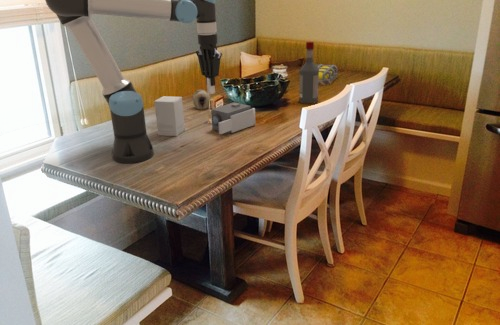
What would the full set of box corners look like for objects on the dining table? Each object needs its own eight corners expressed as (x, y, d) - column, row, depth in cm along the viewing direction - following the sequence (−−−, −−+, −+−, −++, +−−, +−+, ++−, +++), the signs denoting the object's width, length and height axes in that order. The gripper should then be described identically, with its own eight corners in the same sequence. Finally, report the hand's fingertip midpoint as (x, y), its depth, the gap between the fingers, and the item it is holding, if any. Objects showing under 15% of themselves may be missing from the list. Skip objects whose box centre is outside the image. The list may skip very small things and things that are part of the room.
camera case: (226, 134, 187) (225, 112, 184) (210, 129, 194) (208, 107, 190) (251, 125, 198) (250, 104, 194) (234, 121, 204) (234, 100, 200)
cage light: (339, 63, 283) (328, 73, 258) (339, 76, 286) (328, 87, 261) (317, 62, 288) (304, 72, 263) (317, 75, 292) (304, 85, 266)
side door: (221, 137, 183) (220, 120, 180) (218, 136, 184) (217, 119, 181) (255, 124, 198) (255, 108, 195) (253, 123, 198) (253, 107, 196)
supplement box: (185, 129, 195) (182, 96, 189) (177, 136, 187) (173, 101, 181) (166, 128, 197) (163, 95, 191) (157, 135, 189) (153, 100, 183)
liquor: (318, 99, 235) (320, 40, 223) (316, 104, 227) (318, 43, 215) (301, 98, 237) (302, 40, 225) (298, 103, 229) (299, 43, 217)
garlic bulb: (194, 112, 228) (187, 93, 225) (208, 106, 232) (201, 88, 230) (202, 110, 220) (195, 91, 217) (216, 104, 224) (209, 85, 222)
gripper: (226, 33, 171) (229, 93, 180) (203, 31, 179) (207, 89, 189) (211, 35, 166) (215, 97, 175) (188, 33, 174) (193, 92, 184)
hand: (211, 93), depth 182 cm, fingers closed
